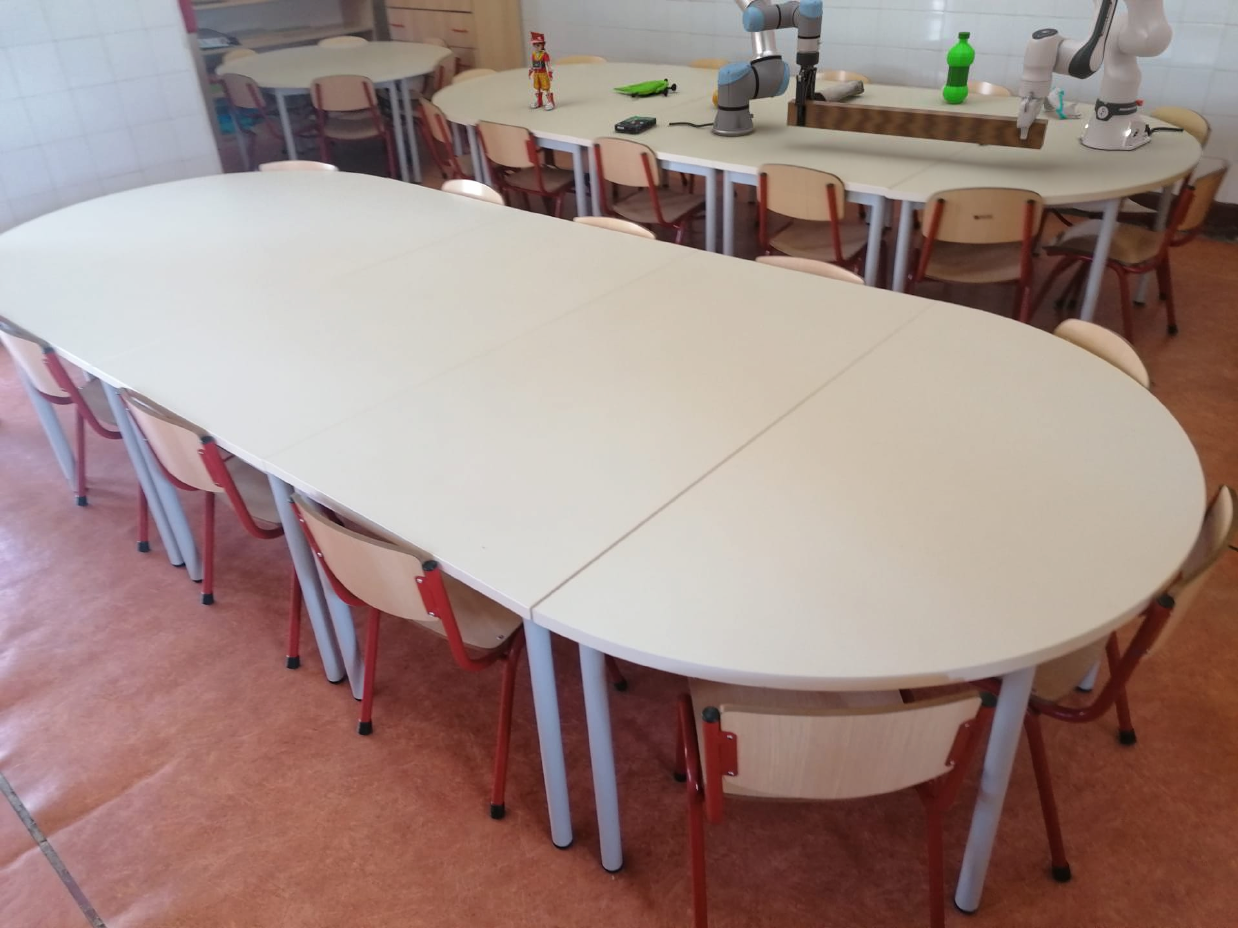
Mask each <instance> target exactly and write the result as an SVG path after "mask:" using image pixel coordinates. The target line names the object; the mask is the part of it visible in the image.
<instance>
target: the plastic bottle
mask: <svg viewBox="0 0 1238 928" xmlns="http://www.w3.org/2000/svg"><path fill="white" fill-rule="evenodd" d="M970 36H971V32H970V31H959V32H958V36H957V39H958V42H957V43H956V44H954V45H953V46H952V47H951V48H950V49H949V50H948V52H947V54H946V63H947V64H948V69H947V70H948V71H947V76H946V77H947V78H946V84H945V85H944V87H943V90H942V97H943V99H944V100H945V101H946V102H947V103H948V104H960V103H961V102H963V101H964V100H966V98H967V96H968V95H969V85H968V79H969V73H970V67H971V65H972V64H973V63H974V61H975V57H976V51H975V49H974V47H972V45H971V44H970V43H969V42H968V41H969V39H970V38H971V37H970Z"/></svg>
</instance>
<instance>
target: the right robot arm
mask: <svg viewBox="0 0 1238 928" xmlns="http://www.w3.org/2000/svg"><path fill="white" fill-rule="evenodd" d="M1092 1H1093V2H1094V13H1093V16H1092V20H1091V24H1090V27H1089V31H1088V34H1087V37H1086V38H1085V39H1084V40H1082V39H1074V38H1070V37H1066V36H1062V35H1061V34H1060V33H1059V31H1058V29H1055V28H1050V27H1049V28H1041V29H1038V30H1036V31H1033V32H1032V33H1031V34H1030V37H1029V39H1028V42H1027V45H1026V48H1025V52H1024V57H1023V61H1022V63H1023V71H1022V74H1021V76H1020V79H1019V85H1018V91H1017V95H1018V96H1019V97H1020V98H1021V99H1020V101H1021V104H1020V107H1019V111H1018V115H1017V117H1018V120H1017V128H1021V137H1020V138H1021V139H1026V138H1027V136H1028V129H1029V127H1030V125H1031V124H1032V123H1033V121H1034V120H1035V119H1037V117H1038V116H1039V115H1040V113H1041V112H1042V109H1043V107H1044V104H1043V103H1044V100H1045V97H1047V96H1049V93H1051V87H1052V83H1053V73H1055V74H1058V75H1064V76H1069V77H1072V78H1076V79H1079V80H1086V79H1088V78H1089V77H1092V75H1094V74H1096V73H1097V72H1098V71H1099V70H1100V68H1101V67H1102V65H1103V75H1102V80H1101V84H1100V85H1101V86H1100V89H1099V90H1100V91H1099V94H1098V97H1097V99H1096V100H1095V103H1094V107H1093V108H1094V109H1093V110H1094V112H1093V113H1091V114H1090V116H1089V119H1088V121H1087V124H1086V125H1085V131H1084V133H1083V134H1081V135H1080V137H1079V139H1080V140H1081V141H1082V144H1083V145H1085V146H1086V147H1089V148H1094V149H1099V150H1110V151H1111V150H1114V151H1115V150H1116V151H1117V150H1122V151H1132V150H1135V149H1137V148H1139V147H1140V146H1143V145H1145V144H1147V143H1149V142H1151V140H1152V139H1151V137H1150V136H1151V135H1152V134H1153V132H1155V131H1171V132H1184V131H1185V128H1179V127H1168V126H1167V127H1166V126H1159V127H1153V128H1150V124H1148V123H1146V121H1145V120H1144V119H1143V118H1142V117H1141V116H1140V114H1139V113H1138V112H1137V111H1138V107H1140V108H1141V107H1143V105H1144V103H1145V101H1144V99H1139V98H1138V94H1139V91H1140V87H1141V83H1142V79H1143V74H1142V70H1141V69H1140V67H1139V64H1138V61H1137V59H1138V58H1155V57H1158V56H1160V55H1162V54H1163V53H1164V52H1165V51H1166V50H1168V47H1169V46H1170V44H1171V42H1172V38H1173V29H1172V26H1171V25H1170V23H1169V22H1168V20H1167V18H1166V14H1165V9H1164V0H1123V2H1124V3H1125V6H1126V9H1127V12H1117V13H1116V10H1117V6H1118V3H1119V0H1092ZM1137 57H1138V58H1137ZM1137 98H1138V99H1137ZM1145 133H1146V134H1147V135H1145Z"/></svg>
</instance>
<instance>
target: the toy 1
mask: <svg viewBox="0 0 1238 928" xmlns="http://www.w3.org/2000/svg"><path fill="white" fill-rule="evenodd" d="M529 33H530V35H531V36H528V37H527V38H528V39H529V40H528V41H527V43H529V44H530V43H531V44H532V48H533V50H534V51H533V52H532V55H531V58H530V59H531V63H530V66H528V74H527V75H528V76H527V77H528V79H529V80H531V75H532V74H533V84H532V85H533V86H532V87H533V88H534V89H535V90H536V92H534V95H535V97H536V100H535V101H533V102H531V105H530V108H531V109H535V108H538V107H542V106H544V101H543V100H544V99H543V95H544V92H546V94H545V97H546V99H547V103H546V104H545V106H544V110H546V111H549V110H553V109H554V107H555V106H556V105H555V99H554V92H551V91H550V90H551V86H552V84H551V82H552V81H553V80H554V77H553V73H554V71H555V70H554V69H552V68H551V63H550V61H551V59H550V58H551V57H550V54H549V53H548V52H547V50H546V48H545V46H546V44H547V41H545V35H544V33H543V32H542V33H539V32H535V31H529Z"/></svg>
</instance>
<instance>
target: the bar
mask: <svg viewBox="0 0 1238 928" xmlns="http://www.w3.org/2000/svg"><path fill="white" fill-rule="evenodd" d="M805 106H806V112H805V126H798V125H797V108H798V106H795V98H792V99H790V100H789V101H788V102H787V113H786V115H787V116H786V126H787V127H796V128H797V127H798V128H808V129H816V130H817V129H819V130H827V131H829V130H830V131H838V132H839V131H840V132H848V133H850V132H851V133H860V134H871V135H881V136H890V137H891V136H893V137H901V138H902V137H903V138H911V139H924V140H933V141H944V142H945V141H946V142H954V143H964V144H965V143H966V144H976V145H979V144H983V145H986V146H998V147H1008V148H1019V149H1027V150H1038V151H1040V150H1041V149H1042V148H1043V146H1044V144H1045V138H1046V134H1047V130H1048V125H1049V121H1050V120H1049V118H1048V119H1047V118H1036V119H1035V120H1034V121H1033V123H1032V124H1031V125H1030V127H1029V129H1028V136H1027V138H1026V139H1021V138H1020V137H1021V128H1017V120H1018V116H1012V115H1011V116H1009V115H997V114H988V113H987V114H986V113H975V112H974V113H973V112H962V111H961V112H960V111H947V110H936V109H924V108H913V107H912V108H911V107H898V106H886V105H875V104H874V105H873V104H863V103H862V104H861V103H849V102H838V101H837V102H826V101H813V100H805Z"/></svg>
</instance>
